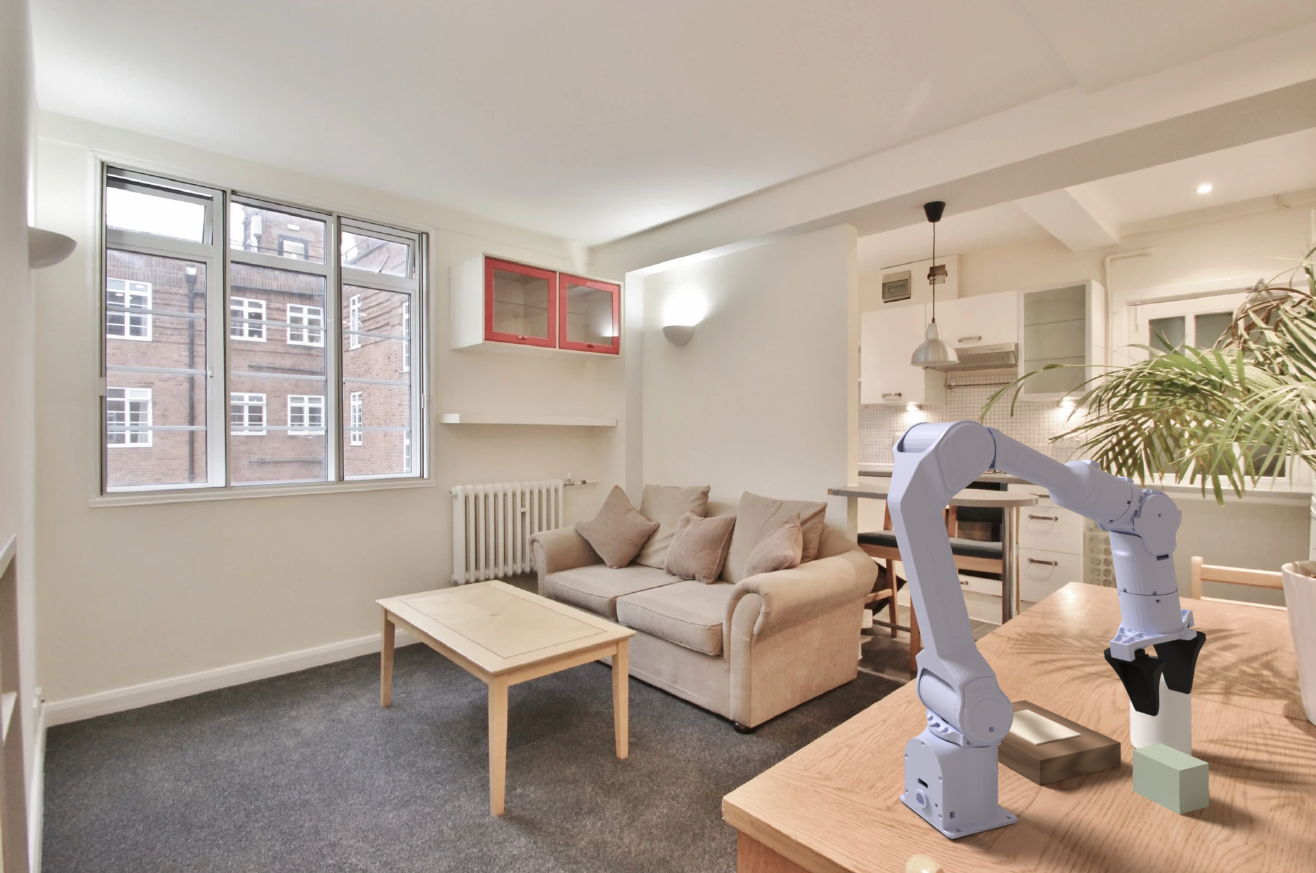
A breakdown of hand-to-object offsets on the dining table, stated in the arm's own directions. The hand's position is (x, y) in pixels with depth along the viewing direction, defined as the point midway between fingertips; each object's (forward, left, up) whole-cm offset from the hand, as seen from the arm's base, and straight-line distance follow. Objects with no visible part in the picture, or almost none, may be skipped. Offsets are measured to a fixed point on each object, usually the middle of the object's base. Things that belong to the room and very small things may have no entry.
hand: (1163, 701), depth 74 cm
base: (-5, +13, -11) cm, 18 cm away
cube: (0, -1, -11) cm, 11 cm away
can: (+11, +7, -11) cm, 17 cm away
